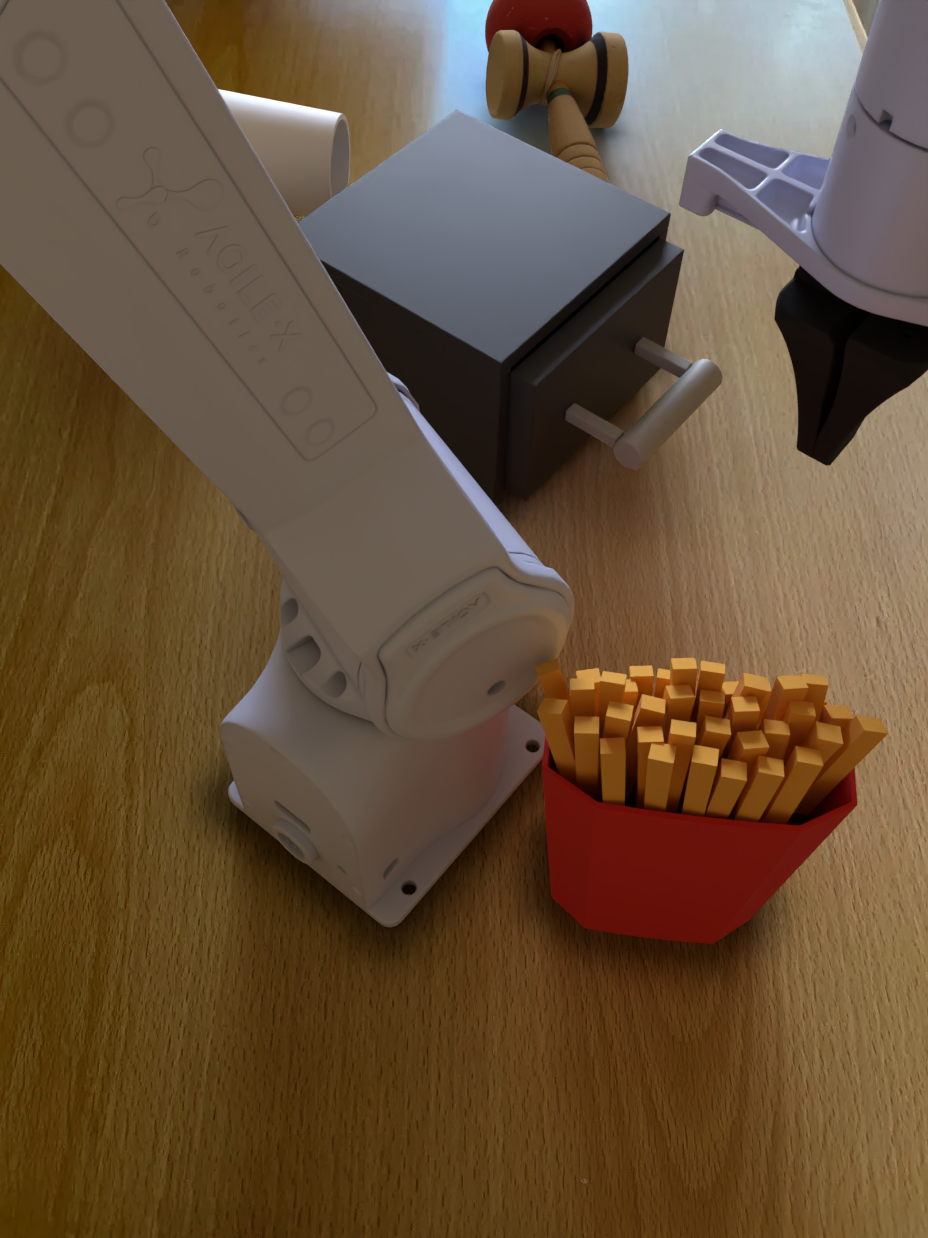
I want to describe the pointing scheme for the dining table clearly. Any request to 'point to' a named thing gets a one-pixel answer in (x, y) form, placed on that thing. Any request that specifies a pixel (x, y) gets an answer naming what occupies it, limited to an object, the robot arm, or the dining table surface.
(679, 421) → the drawer
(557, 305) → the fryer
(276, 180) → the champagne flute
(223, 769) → the dining table surface
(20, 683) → the dining table surface
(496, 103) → the kendama
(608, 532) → the dining table surface
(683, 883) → the french fries
